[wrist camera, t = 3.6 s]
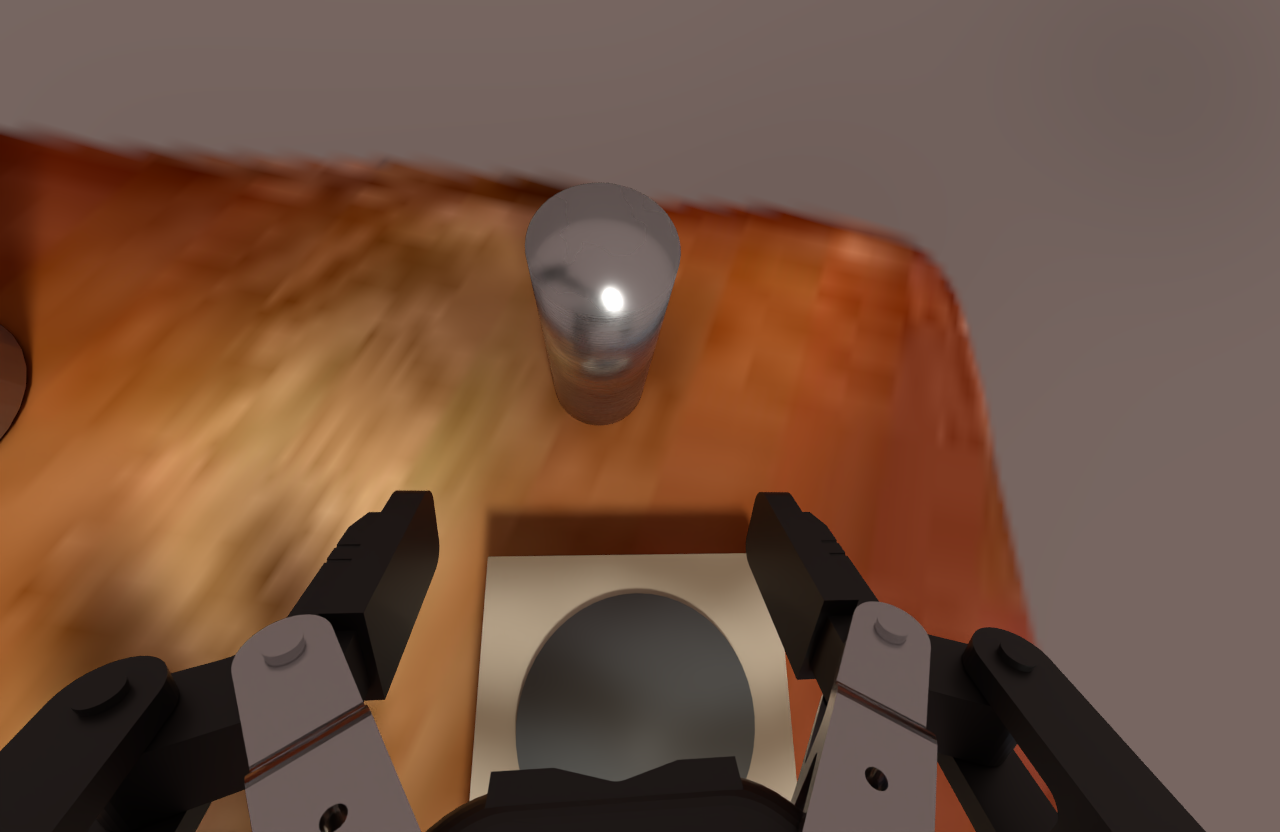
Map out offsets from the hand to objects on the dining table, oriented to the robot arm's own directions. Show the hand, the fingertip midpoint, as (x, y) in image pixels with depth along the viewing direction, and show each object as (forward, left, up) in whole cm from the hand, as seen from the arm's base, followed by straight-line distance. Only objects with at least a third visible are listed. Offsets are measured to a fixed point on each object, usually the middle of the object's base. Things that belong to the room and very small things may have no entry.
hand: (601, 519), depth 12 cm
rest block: (+6, -3, -10) cm, 12 cm away
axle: (-6, +5, -10) cm, 13 cm away
